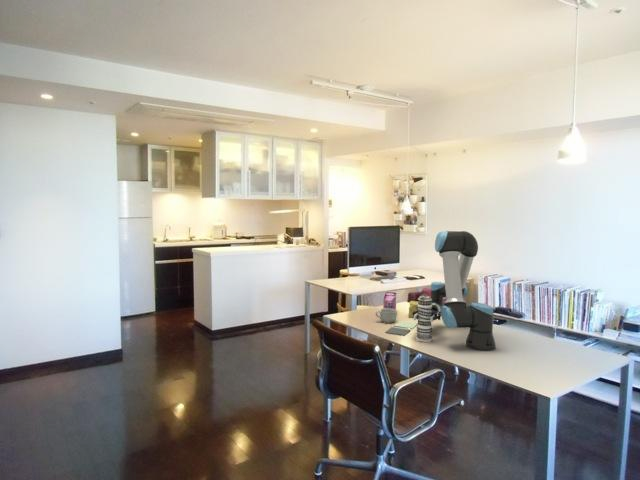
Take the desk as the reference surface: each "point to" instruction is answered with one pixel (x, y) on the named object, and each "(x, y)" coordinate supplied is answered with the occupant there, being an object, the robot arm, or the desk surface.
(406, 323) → the sage mat
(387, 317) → the teacup
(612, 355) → the desk surface
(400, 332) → the charcoal mat
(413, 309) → the cheese
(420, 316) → the decorative candle
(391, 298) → the gum box
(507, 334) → the desk surface
